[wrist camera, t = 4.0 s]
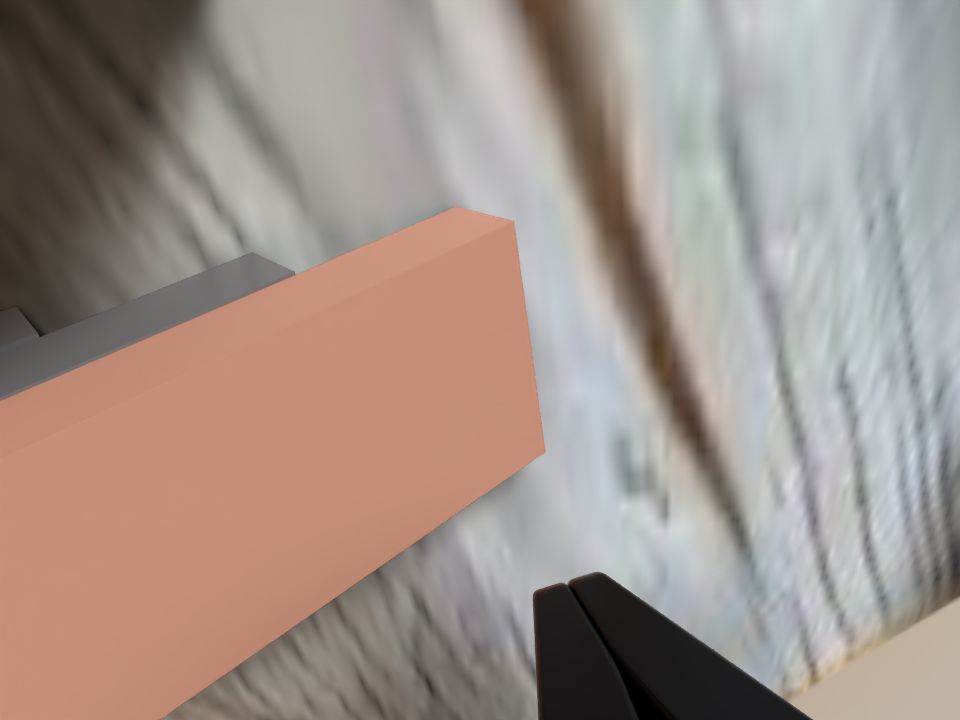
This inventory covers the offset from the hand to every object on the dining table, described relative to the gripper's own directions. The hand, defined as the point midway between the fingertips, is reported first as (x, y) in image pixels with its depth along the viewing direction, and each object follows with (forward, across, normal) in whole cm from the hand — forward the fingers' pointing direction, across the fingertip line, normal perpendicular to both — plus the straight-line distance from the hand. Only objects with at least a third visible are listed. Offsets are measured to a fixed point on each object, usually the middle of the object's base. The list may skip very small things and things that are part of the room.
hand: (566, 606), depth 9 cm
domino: (+7, -1, 0) cm, 7 cm away
